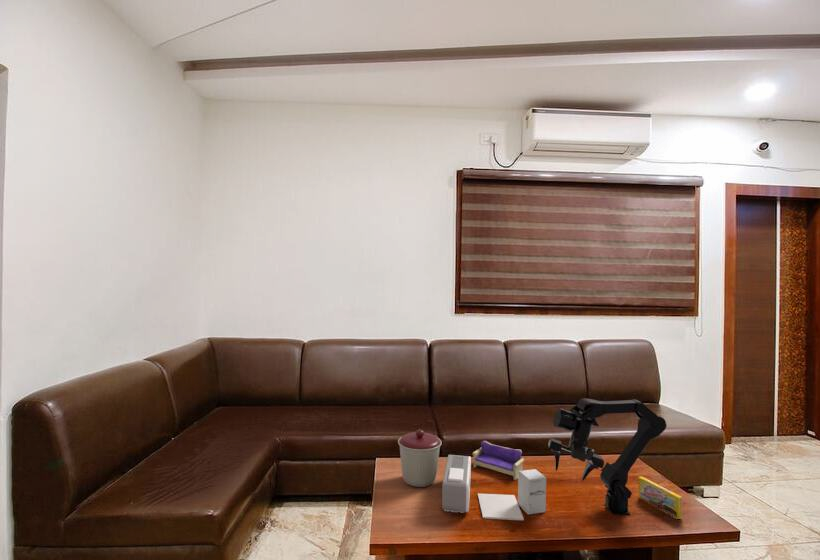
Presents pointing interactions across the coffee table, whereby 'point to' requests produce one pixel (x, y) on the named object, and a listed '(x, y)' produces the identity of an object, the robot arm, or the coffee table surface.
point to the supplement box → (532, 491)
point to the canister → (419, 457)
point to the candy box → (660, 497)
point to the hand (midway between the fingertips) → (569, 475)
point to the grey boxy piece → (456, 484)
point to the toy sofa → (499, 459)
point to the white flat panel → (499, 507)
